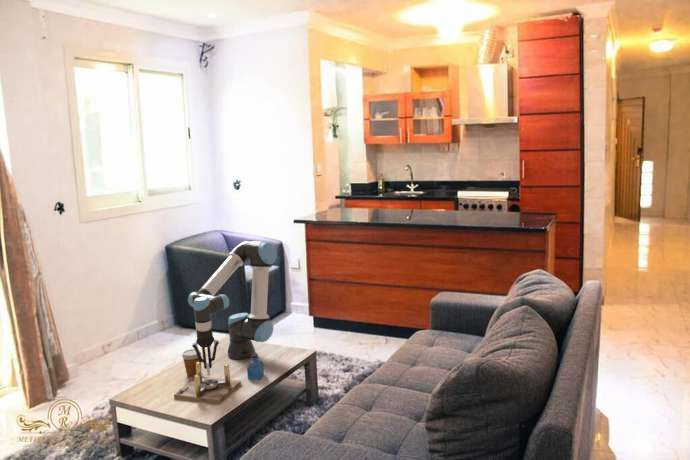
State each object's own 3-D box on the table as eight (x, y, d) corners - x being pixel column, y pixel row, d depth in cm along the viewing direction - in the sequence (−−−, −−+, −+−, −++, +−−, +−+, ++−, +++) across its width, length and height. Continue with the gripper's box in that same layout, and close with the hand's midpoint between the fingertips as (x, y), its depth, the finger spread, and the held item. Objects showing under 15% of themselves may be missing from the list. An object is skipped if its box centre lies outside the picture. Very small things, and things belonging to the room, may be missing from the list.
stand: (198, 379, 290) (197, 372, 289) (241, 384, 282) (240, 377, 282) (174, 398, 270) (173, 391, 269) (219, 404, 263) (218, 396, 262)
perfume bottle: (259, 380, 286) (258, 357, 284) (248, 379, 288) (246, 357, 286) (264, 375, 292) (262, 352, 290) (252, 374, 294) (251, 352, 292)
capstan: (181, 386, 277) (180, 367, 275) (214, 374, 289) (213, 356, 287) (197, 396, 265) (195, 377, 264) (231, 384, 277) (230, 365, 276)
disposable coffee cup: (202, 369, 302) (200, 347, 300) (202, 376, 293) (200, 354, 291) (184, 371, 300) (182, 350, 298) (183, 379, 291) (181, 356, 289)
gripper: (217, 324, 284) (221, 369, 288) (190, 328, 281) (195, 373, 285) (217, 329, 277) (222, 375, 281) (190, 333, 274) (195, 379, 278)
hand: (208, 374), depth 283 cm, fingers closed
